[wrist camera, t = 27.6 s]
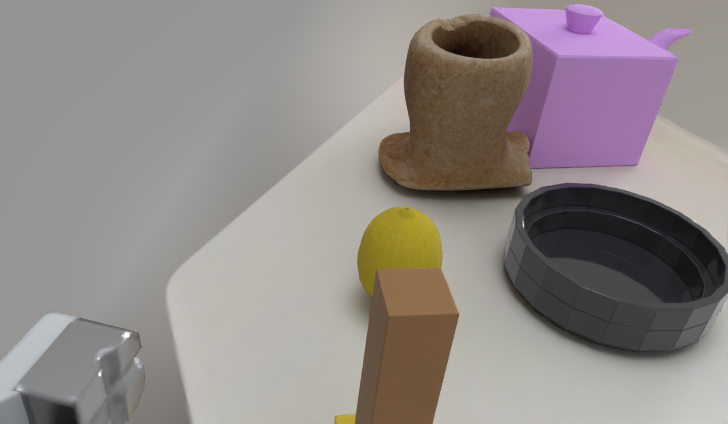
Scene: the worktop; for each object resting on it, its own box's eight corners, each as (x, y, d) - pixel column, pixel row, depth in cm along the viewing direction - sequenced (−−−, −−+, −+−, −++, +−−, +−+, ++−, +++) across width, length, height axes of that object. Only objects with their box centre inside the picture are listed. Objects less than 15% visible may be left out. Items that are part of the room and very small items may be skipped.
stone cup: (392, 213, 52) (417, 40, 44) (370, 148, 62) (387, -4, 54) (557, 213, 55) (610, 50, 47) (511, 150, 65) (548, 6, 57)
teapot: (693, 163, 67) (751, 35, 59) (481, 170, 61) (514, 28, 53) (615, 105, 79) (655, -8, 71) (432, 106, 73) (453, -17, 65)
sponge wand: (329, 465, 32) (353, 249, 24) (404, 459, 33) (450, 248, 25) (341, 564, 28) (374, 341, 20) (426, 555, 29) (489, 336, 21)
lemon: (356, 274, 45) (367, 180, 41) (431, 284, 45) (450, 191, 41) (348, 326, 41) (359, 227, 36) (432, 338, 40) (453, 239, 36)
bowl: (465, 244, 50) (476, 197, 47) (606, 216, 56) (623, 172, 53) (593, 384, 38) (617, 332, 36) (754, 329, 44) (783, 281, 42)
